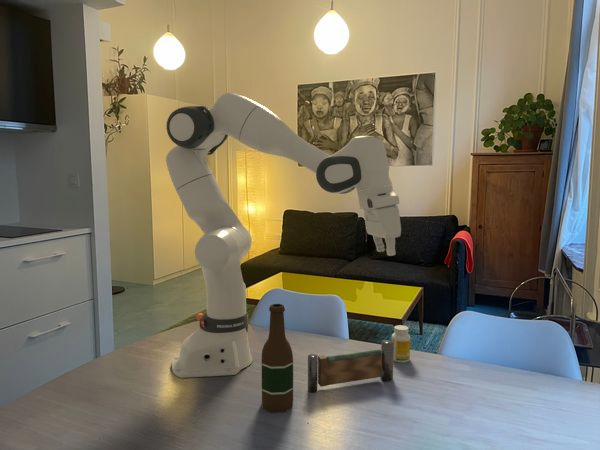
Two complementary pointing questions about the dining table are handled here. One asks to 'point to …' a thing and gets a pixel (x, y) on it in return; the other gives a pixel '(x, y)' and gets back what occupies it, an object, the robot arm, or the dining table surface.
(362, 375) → the brown wooden panel
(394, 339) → the supplement bottle
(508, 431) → the dining table surface
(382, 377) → the posts
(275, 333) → the beer bottle
